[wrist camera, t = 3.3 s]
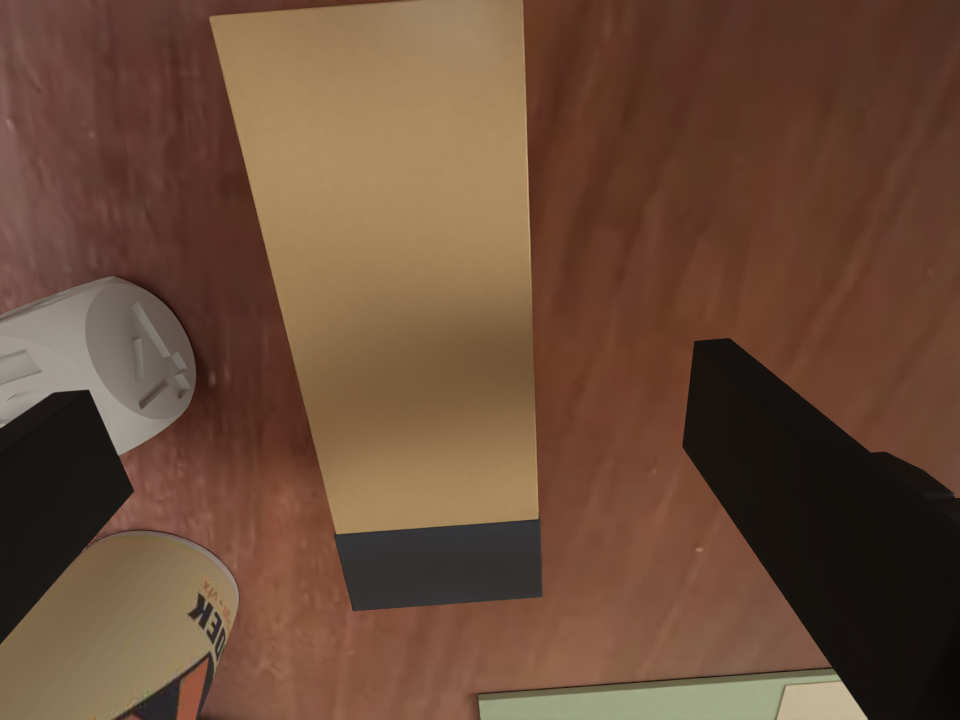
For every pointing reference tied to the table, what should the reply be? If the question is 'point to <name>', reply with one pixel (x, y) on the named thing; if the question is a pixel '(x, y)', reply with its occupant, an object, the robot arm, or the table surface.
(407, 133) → the beech block
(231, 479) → the table surface
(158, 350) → the die
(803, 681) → the envelope
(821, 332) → the table surface
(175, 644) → the coffee cup
